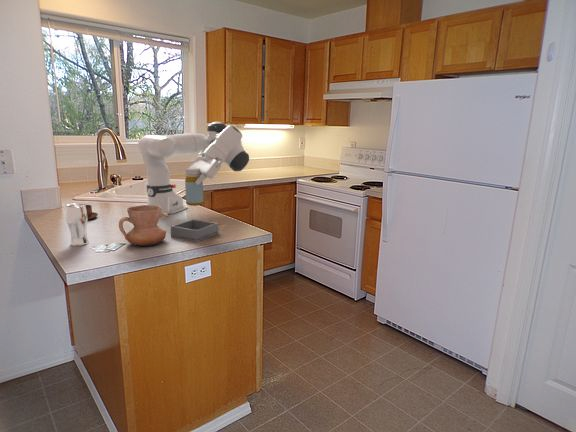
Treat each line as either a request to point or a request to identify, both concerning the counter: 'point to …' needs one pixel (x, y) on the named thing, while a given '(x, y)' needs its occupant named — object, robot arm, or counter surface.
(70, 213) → the beer glass
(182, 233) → the box
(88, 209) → the cup and saucer
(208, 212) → the counter surface
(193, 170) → the bottle
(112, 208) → the counter surface
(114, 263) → the counter surface
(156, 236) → the ceramic jug
